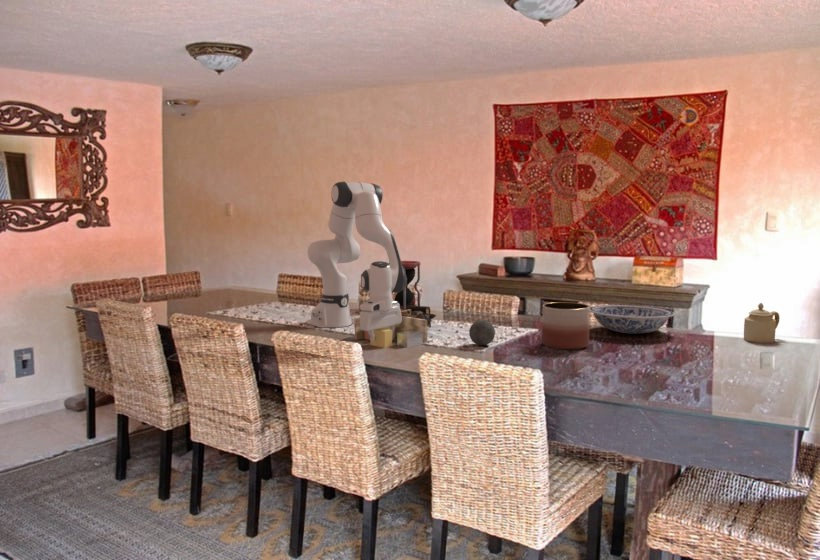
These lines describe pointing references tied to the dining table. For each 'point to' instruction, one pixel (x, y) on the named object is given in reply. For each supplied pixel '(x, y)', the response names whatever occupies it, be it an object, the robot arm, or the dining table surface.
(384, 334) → the book
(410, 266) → the hourglass
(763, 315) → the sugar bowl
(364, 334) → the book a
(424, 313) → the brown owl figurine
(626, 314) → the ceramic bowl
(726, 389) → the dining table surface
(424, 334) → the shelf corner
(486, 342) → the decorative ball
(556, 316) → the planter
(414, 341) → the block
